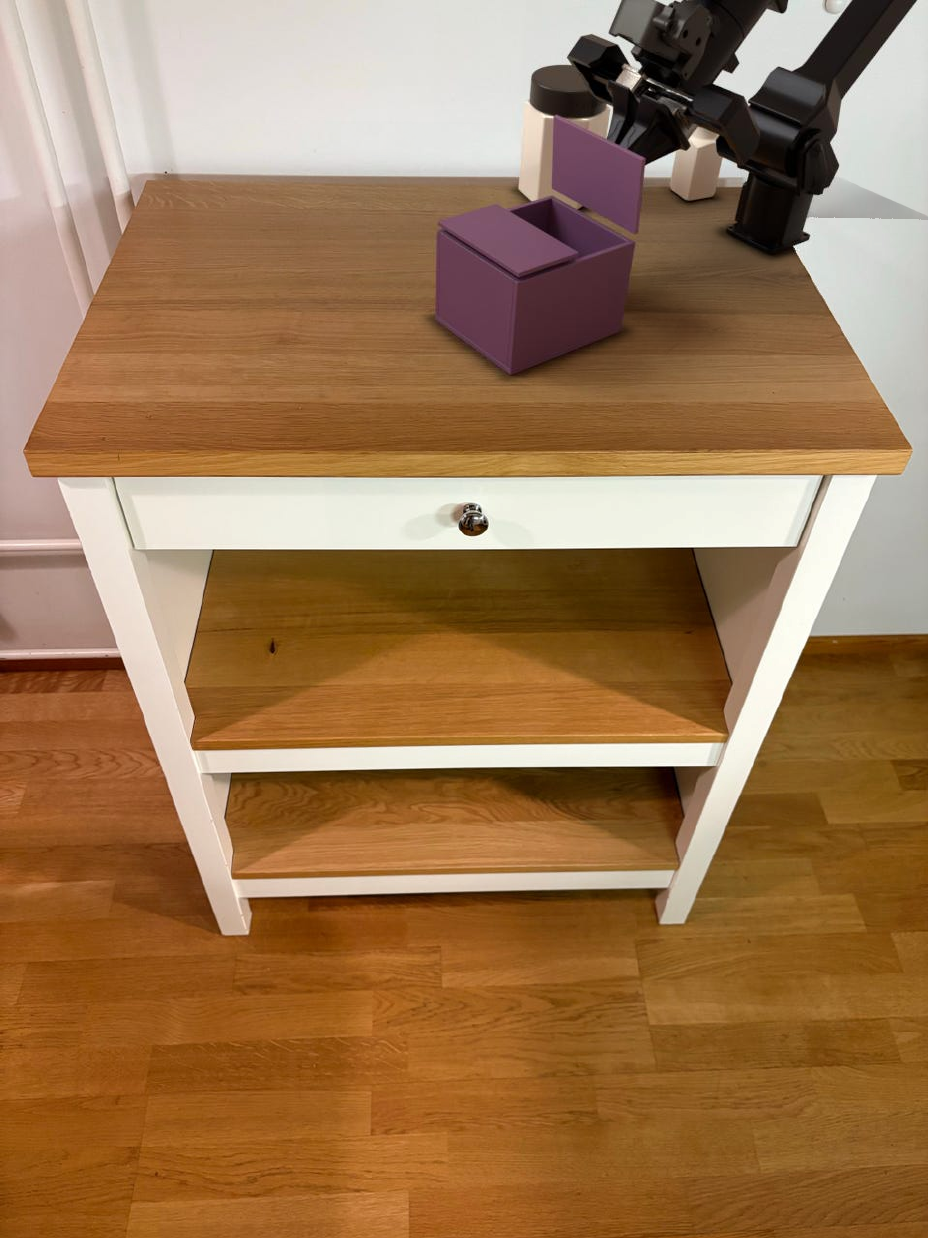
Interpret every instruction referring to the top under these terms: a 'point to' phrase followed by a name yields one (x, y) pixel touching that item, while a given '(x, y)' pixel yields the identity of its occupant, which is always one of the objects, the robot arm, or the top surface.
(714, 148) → the pepper shaker
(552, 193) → the jar
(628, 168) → the lid
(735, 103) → the robot arm
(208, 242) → the top surface
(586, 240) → the box
